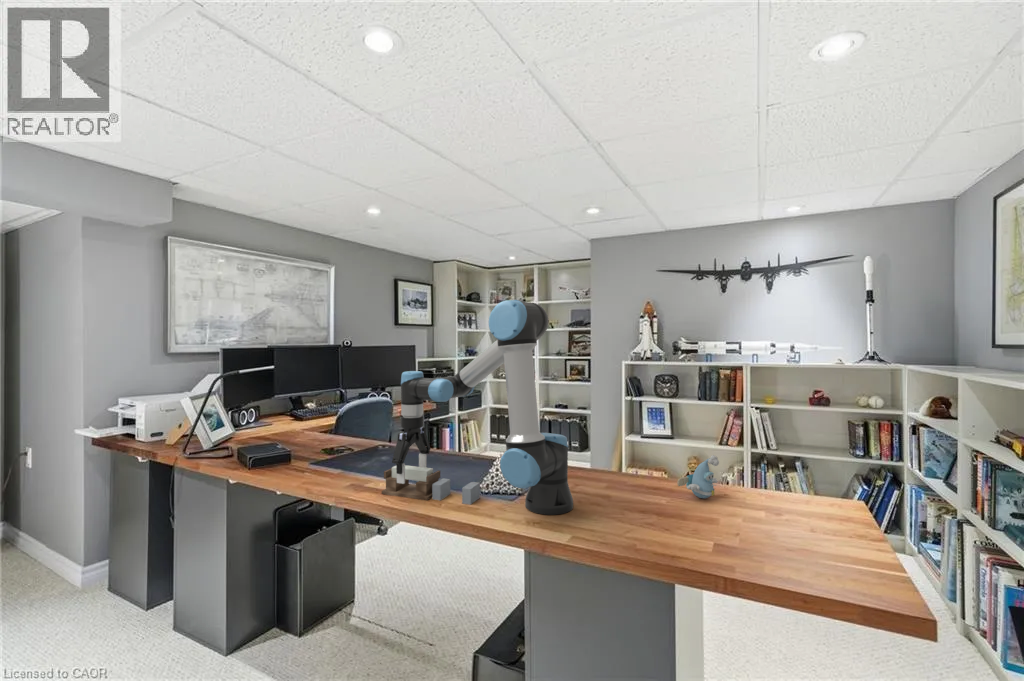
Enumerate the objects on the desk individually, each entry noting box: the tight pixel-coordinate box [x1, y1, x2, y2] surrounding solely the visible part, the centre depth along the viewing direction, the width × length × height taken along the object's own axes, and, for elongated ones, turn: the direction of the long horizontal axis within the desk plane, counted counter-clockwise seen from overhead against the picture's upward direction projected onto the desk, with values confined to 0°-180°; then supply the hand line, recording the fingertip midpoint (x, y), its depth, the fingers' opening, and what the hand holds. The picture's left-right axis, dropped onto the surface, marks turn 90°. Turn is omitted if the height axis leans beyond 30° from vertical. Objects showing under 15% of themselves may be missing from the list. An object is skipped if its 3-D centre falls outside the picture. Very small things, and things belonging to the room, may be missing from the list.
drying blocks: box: [431, 478, 481, 506], centre depth 156 cm, size 14×7×5 cm, turn 69°
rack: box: [381, 467, 441, 501], centre depth 162 cm, size 18×10×7 cm, turn 69°
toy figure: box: [676, 454, 720, 499], centre depth 156 cm, size 17×10×15 cm, turn 129°
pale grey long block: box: [391, 464, 434, 482], centre depth 162 cm, size 14×4×4 cm, turn 69°
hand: (412, 477), depth 162 cm, fingers open, 13 cm apart
